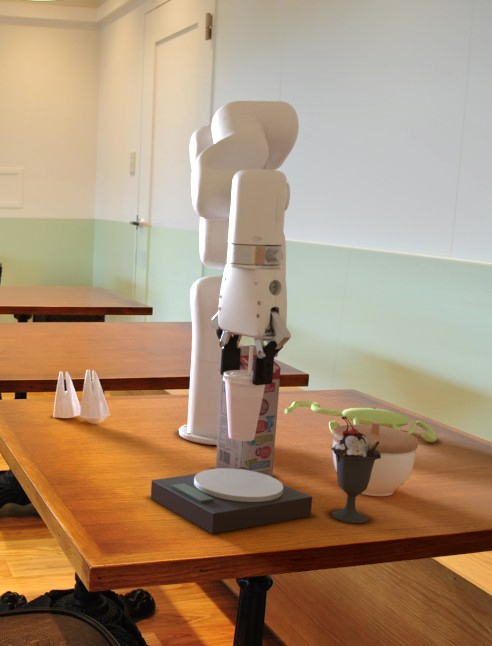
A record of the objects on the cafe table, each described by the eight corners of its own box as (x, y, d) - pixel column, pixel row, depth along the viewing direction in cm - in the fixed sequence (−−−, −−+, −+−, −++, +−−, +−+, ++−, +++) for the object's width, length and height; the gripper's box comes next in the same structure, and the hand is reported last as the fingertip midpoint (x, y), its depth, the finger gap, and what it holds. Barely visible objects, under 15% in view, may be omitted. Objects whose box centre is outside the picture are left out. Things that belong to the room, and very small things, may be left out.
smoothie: (265, 445, 120) (272, 350, 118) (220, 441, 121) (226, 347, 119) (261, 433, 126) (268, 342, 124) (218, 430, 128) (224, 340, 125)
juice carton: (215, 469, 143) (223, 343, 139) (246, 465, 145) (255, 341, 142) (240, 481, 137) (249, 349, 133) (272, 476, 139) (282, 347, 136)
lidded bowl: (406, 508, 126) (414, 438, 124) (320, 491, 133) (326, 425, 131) (417, 485, 137) (424, 420, 135) (336, 471, 143) (342, 409, 141)
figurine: (273, 424, 174) (275, 398, 173) (387, 419, 179) (389, 394, 178) (323, 449, 156) (325, 420, 155) (447, 444, 161) (450, 416, 160)
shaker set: (111, 423, 171) (113, 370, 169) (100, 427, 168) (102, 374, 166) (62, 413, 178) (64, 363, 176) (51, 417, 175) (53, 365, 173)
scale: (242, 484, 135) (244, 461, 135) (310, 516, 122) (313, 491, 121) (150, 498, 128) (151, 475, 127) (212, 534, 115) (214, 508, 114)
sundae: (317, 509, 125) (325, 412, 122) (360, 508, 126) (369, 412, 123) (337, 526, 118) (346, 424, 116) (382, 525, 119) (392, 424, 117)
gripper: (318, 261, 113) (308, 389, 116) (235, 253, 129) (227, 366, 132) (276, 261, 110) (266, 393, 113) (195, 253, 126) (188, 369, 128)
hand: (245, 378), depth 122 cm, fingers closed on smoothie, 6 cm apart
